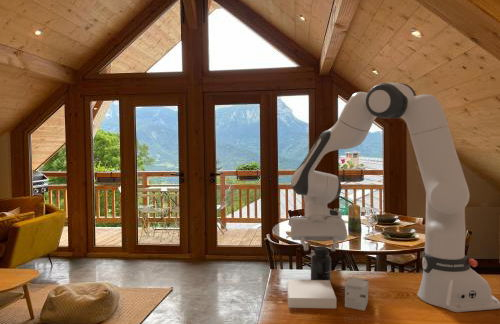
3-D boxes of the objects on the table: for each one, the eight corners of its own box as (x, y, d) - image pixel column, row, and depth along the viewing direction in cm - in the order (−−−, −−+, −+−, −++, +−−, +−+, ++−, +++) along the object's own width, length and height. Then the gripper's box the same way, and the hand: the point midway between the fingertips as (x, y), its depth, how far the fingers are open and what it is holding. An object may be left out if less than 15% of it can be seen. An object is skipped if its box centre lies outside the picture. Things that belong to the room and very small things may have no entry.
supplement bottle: (330, 286, 133) (331, 251, 132) (310, 285, 134) (310, 250, 133) (330, 279, 140) (331, 245, 139) (311, 277, 141) (311, 244, 140)
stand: (329, 289, 131) (329, 280, 131) (336, 308, 117) (336, 298, 117) (286, 288, 132) (286, 279, 131) (288, 307, 118) (288, 297, 117)
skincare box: (344, 307, 118) (344, 283, 117) (348, 299, 123) (348, 276, 123) (365, 311, 115) (365, 286, 115) (368, 302, 121) (368, 279, 120)
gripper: (289, 211, 147) (290, 245, 138) (345, 212, 146) (350, 246, 137) (288, 220, 151) (289, 253, 143) (342, 221, 150) (347, 254, 142)
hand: (319, 250), depth 140 cm, fingers open, 8 cm apart
